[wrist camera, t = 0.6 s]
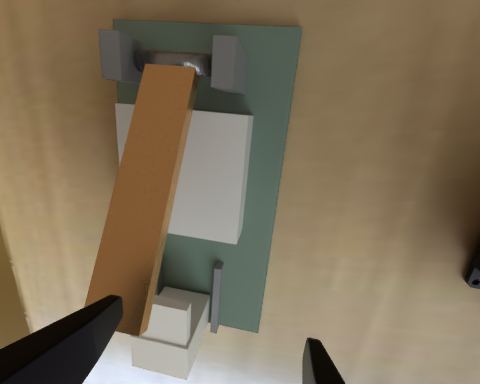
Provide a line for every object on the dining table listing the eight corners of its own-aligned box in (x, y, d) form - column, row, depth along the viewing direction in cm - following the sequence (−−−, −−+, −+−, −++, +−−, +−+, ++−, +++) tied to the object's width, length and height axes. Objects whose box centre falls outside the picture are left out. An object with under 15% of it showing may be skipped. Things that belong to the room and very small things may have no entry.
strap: (215, 63, 14) (210, 48, 13) (162, 331, 12) (151, 341, 11) (146, 59, 15) (136, 44, 14) (82, 313, 13) (63, 321, 11)
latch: (211, 265, 21) (188, 314, 16) (208, 320, 23) (186, 379, 18) (164, 257, 22) (127, 300, 17) (165, 311, 24) (132, 365, 19)
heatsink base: (301, 30, 16) (308, -6, 11) (258, 327, 24) (252, 380, 19) (118, 22, 18) (57, -12, 13) (135, 301, 25) (101, 343, 21)
